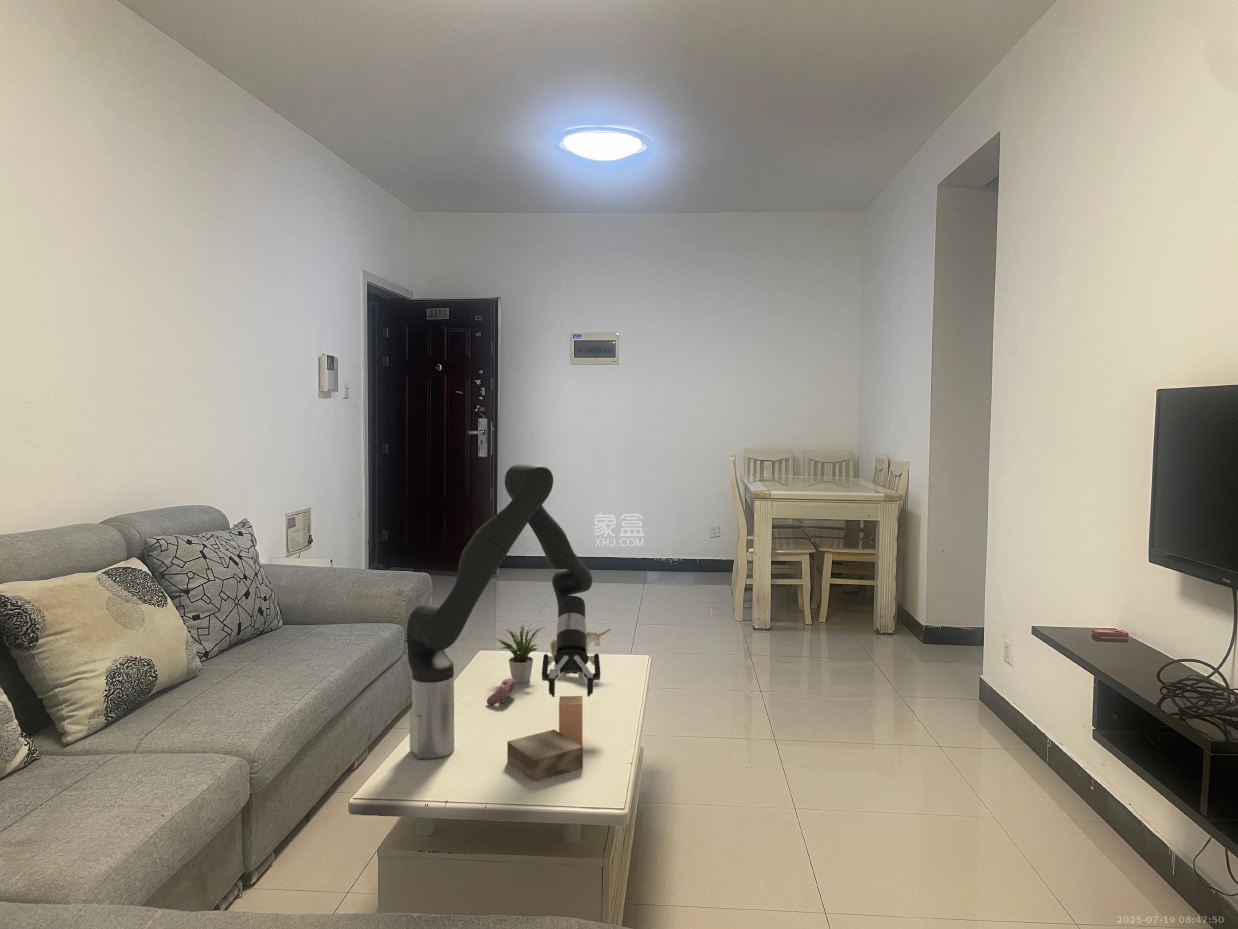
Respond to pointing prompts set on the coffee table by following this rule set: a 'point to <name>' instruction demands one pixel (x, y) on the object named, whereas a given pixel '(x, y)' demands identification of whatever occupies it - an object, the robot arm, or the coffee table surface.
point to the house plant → (520, 655)
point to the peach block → (571, 717)
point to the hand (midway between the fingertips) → (571, 695)
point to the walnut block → (544, 755)
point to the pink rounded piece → (502, 692)
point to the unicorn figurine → (590, 637)
